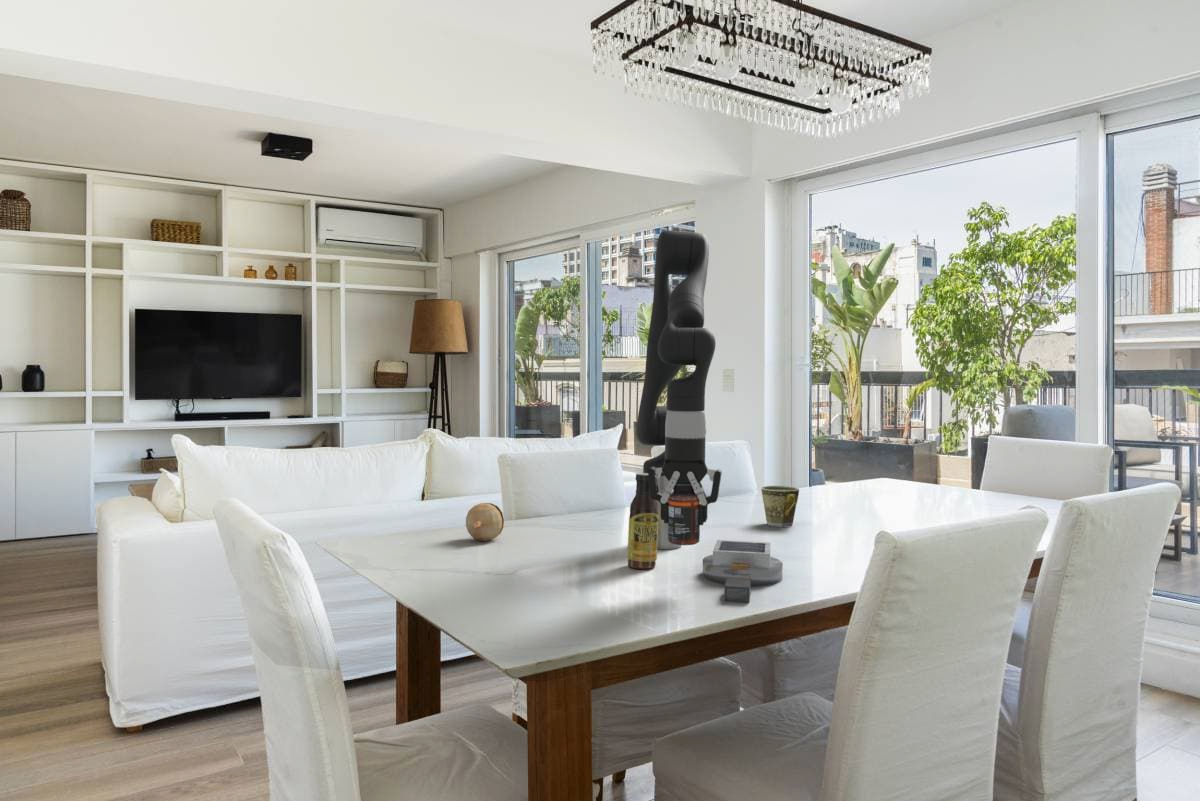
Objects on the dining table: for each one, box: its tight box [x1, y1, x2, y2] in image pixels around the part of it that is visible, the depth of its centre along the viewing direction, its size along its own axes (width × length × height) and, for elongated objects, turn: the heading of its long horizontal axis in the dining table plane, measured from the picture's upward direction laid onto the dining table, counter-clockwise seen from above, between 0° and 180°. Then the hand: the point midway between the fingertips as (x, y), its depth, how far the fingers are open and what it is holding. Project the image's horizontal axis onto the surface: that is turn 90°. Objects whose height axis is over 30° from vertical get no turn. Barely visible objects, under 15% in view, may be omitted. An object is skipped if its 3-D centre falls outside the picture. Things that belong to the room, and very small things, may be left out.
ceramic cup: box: [761, 485, 800, 528], centre depth 224 cm, size 13×10×10 cm
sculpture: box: [465, 502, 505, 542], centre depth 202 cm, size 9×9×15 cm
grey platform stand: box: [702, 539, 784, 604], centre depth 163 cm, size 16×28×6 cm, turn 168°
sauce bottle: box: [627, 472, 658, 570], centre depth 176 cm, size 7×6×20 cm
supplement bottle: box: [668, 484, 701, 546], centre depth 156 cm, size 6×6×11 cm
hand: (683, 523), depth 156 cm, fingers closed on supplement bottle, 6 cm apart
